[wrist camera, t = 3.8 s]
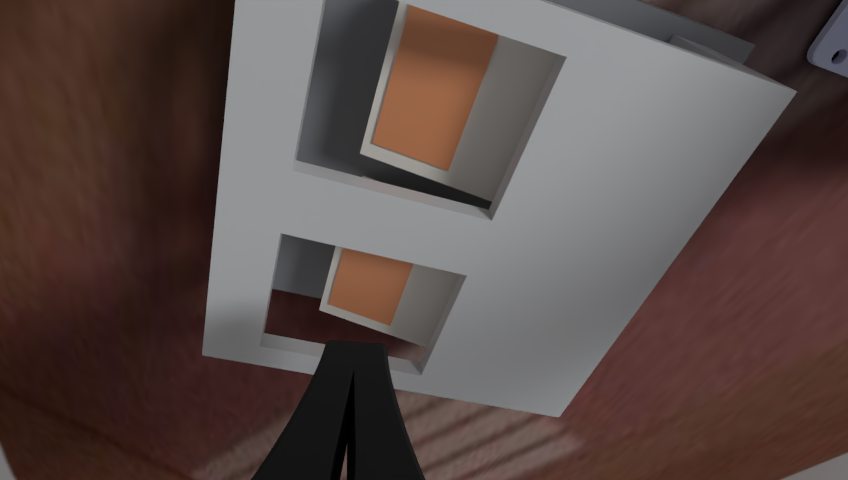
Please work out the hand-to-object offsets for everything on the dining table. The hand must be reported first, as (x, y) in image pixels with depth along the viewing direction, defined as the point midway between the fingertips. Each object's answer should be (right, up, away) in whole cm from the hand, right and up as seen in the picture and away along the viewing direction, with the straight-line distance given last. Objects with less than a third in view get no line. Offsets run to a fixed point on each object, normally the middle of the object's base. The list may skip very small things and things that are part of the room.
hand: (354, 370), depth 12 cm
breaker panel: (+3, +7, +8) cm, 11 cm away
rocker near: (+4, +7, +3) cm, 8 cm away
